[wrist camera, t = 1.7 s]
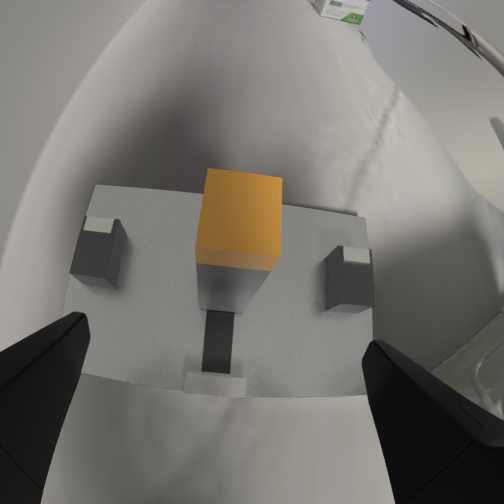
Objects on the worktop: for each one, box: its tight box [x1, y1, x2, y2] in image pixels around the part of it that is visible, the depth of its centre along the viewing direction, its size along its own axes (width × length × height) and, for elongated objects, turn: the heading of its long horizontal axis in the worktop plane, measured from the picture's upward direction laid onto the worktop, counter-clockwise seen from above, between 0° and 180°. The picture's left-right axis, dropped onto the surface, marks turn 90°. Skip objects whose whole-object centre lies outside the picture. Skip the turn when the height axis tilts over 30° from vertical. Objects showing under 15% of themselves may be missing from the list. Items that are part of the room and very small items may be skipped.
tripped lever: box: [195, 168, 282, 313], centre depth 15 cm, size 3×3×10 cm
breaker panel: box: [62, 185, 375, 398], centre depth 19 cm, size 14×22×4 cm, turn 86°
